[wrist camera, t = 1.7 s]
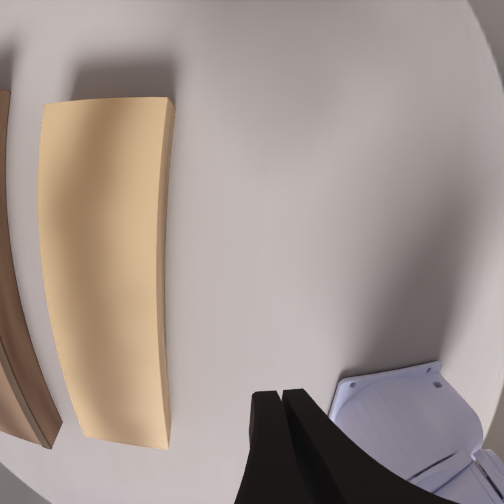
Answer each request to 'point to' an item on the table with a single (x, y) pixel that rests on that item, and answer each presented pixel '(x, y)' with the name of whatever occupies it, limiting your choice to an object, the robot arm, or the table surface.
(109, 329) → the oak plank
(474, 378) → the table surface
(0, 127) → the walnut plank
